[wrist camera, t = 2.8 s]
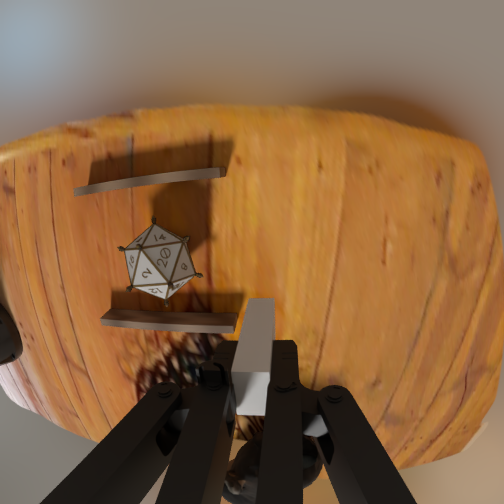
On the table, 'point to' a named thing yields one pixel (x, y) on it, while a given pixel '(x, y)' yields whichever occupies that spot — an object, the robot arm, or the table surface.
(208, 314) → the walnut channel
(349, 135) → the table surface
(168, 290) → the game die
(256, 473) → the black rounded lump
